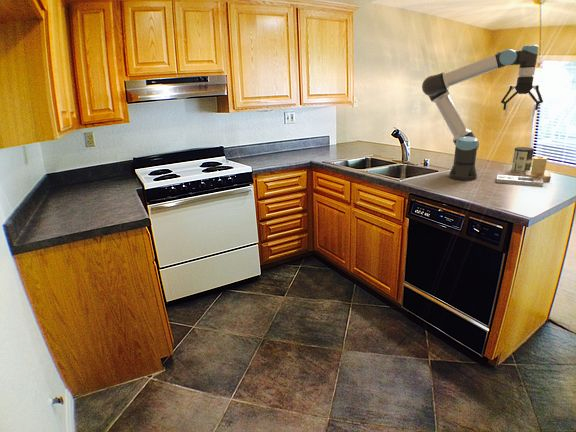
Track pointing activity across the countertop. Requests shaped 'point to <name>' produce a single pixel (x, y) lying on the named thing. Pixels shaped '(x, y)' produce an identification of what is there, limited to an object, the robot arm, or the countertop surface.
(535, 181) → the beige panel with cutout
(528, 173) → the pedestal
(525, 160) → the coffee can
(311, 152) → the countertop surface
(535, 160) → the cube with dome knob
